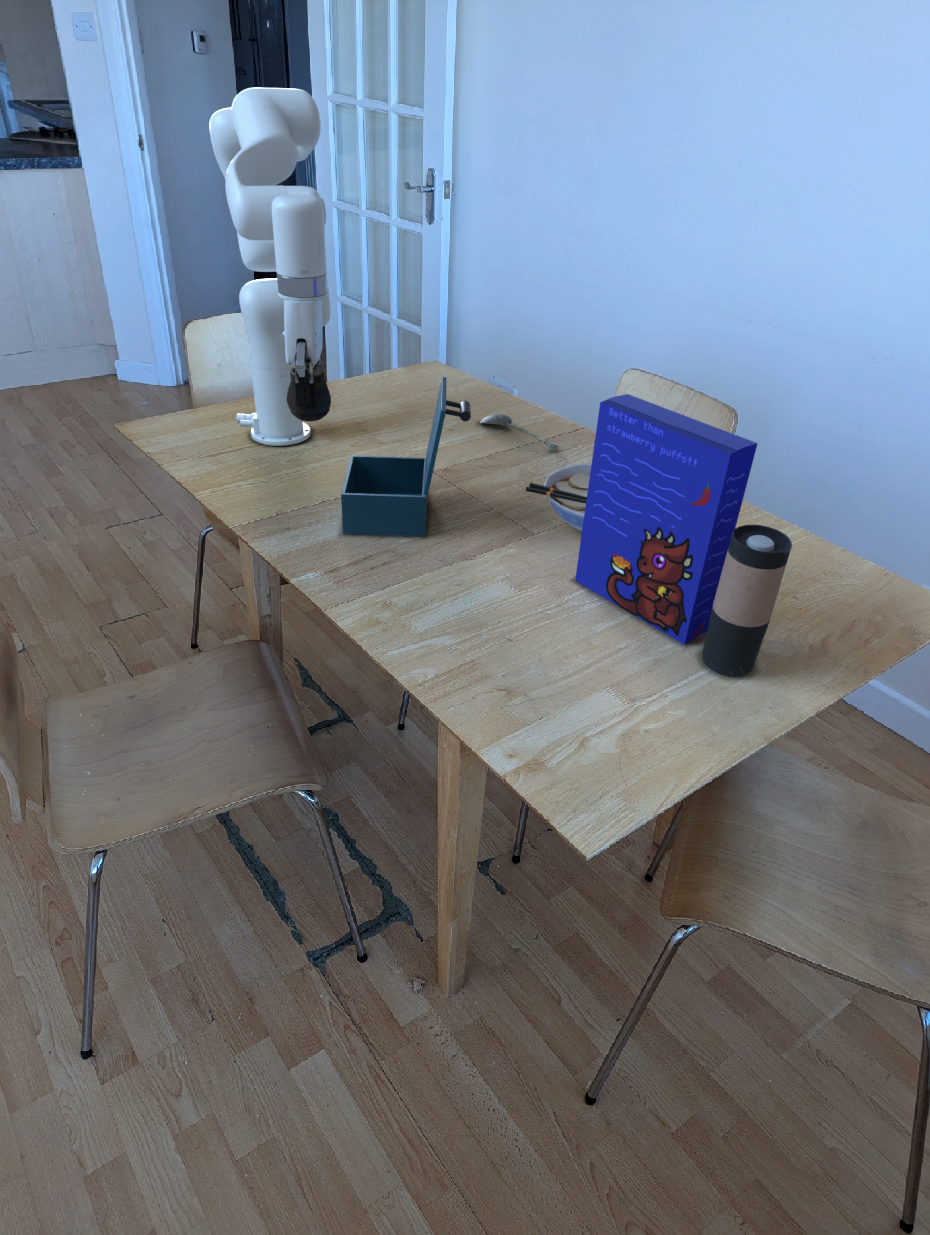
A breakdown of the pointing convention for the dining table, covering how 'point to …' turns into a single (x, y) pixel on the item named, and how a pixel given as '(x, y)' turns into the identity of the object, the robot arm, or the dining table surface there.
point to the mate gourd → (321, 395)
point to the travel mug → (745, 598)
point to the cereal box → (661, 513)
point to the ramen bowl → (567, 492)
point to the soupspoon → (507, 421)
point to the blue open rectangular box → (384, 496)
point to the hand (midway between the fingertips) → (309, 396)
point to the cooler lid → (437, 429)
